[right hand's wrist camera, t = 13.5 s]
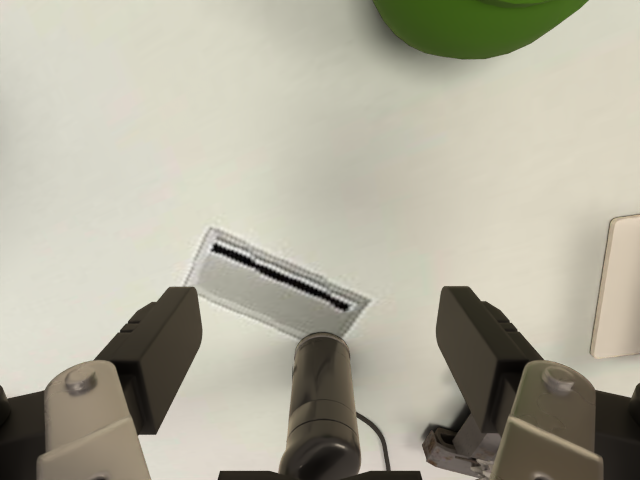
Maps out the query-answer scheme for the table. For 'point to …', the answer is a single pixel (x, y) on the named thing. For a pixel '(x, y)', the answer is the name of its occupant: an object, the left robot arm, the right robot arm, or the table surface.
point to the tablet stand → (619, 293)
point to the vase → (473, 24)
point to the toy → (463, 450)
